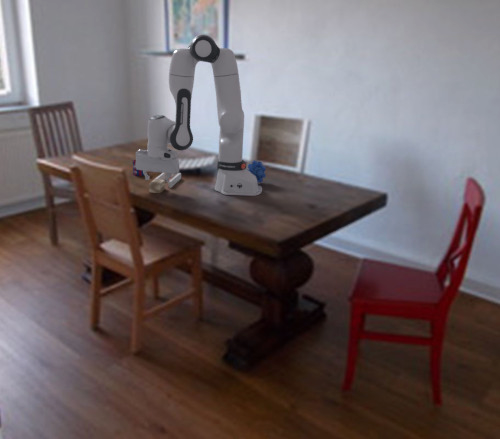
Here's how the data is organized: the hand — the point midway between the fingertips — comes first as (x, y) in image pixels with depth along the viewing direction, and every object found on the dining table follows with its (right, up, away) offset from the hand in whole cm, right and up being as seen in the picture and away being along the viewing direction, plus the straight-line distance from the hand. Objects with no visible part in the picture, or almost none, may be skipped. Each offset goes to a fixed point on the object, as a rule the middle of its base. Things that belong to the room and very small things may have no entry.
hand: (157, 180), depth 255 cm
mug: (-12, +5, +26) cm, 29 cm away
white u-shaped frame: (+3, 0, +13) cm, 13 cm away
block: (0, -5, 0) cm, 5 cm away
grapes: (+46, -1, +16) cm, 49 cm away
